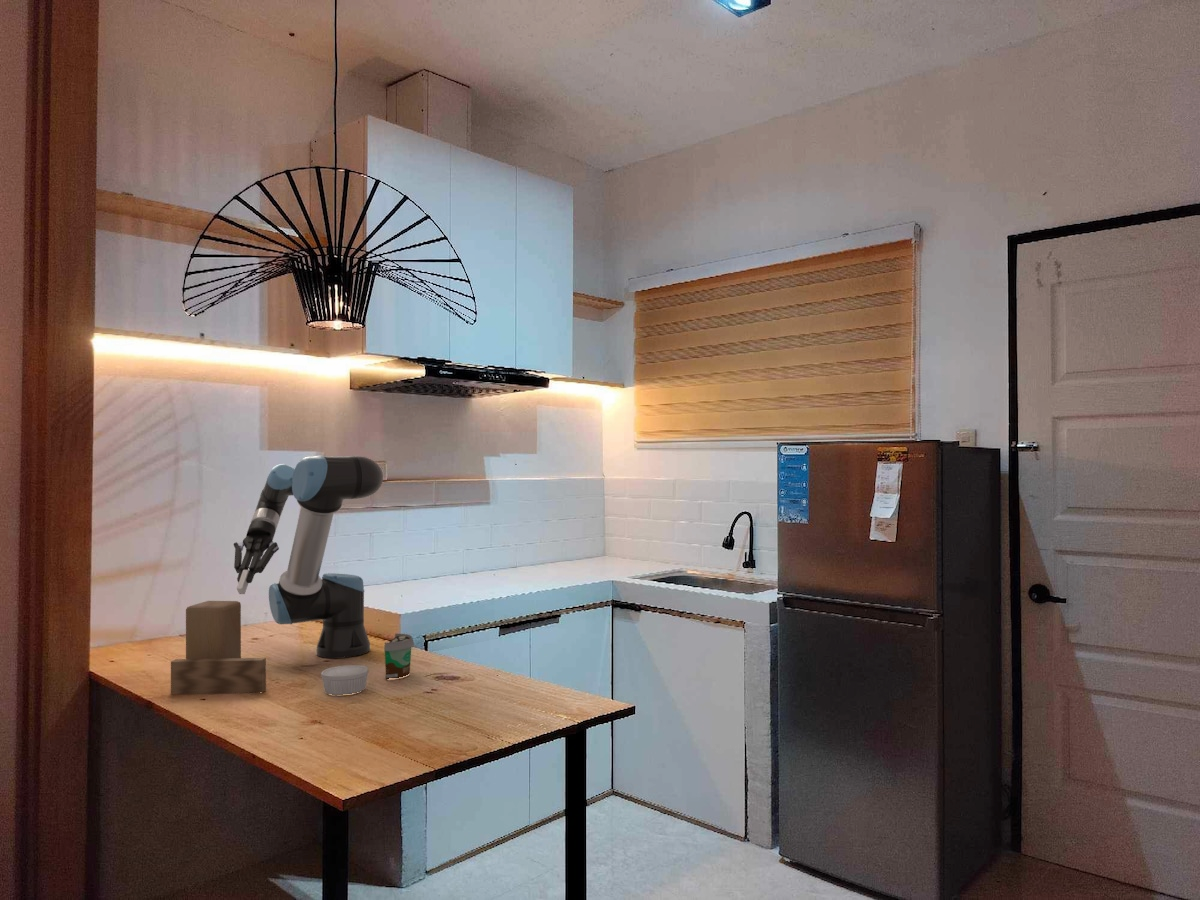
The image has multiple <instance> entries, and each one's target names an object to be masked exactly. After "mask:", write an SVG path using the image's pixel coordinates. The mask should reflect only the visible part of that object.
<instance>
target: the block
mask: <svg viewBox="0 0 1200 900" xmlns="http://www.w3.org/2000/svg"><path fill="white" fill-rule="evenodd" d="M241 605H242V604H241V602H240V601H238V600H206V601H203V602H199V603H196V604H193V605H192V604H191V605H190V606H187V607H186V609H185V659H226V658H242V636H241V635H242V619H241V618H242V615H241V614H242V612H241V611H242V606H241Z"/></svg>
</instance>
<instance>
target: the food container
mask: <svg viewBox="0 0 1200 900" xmlns="http://www.w3.org/2000/svg"><path fill="white" fill-rule="evenodd" d="M412 637H413V636H412V635H411V634H408V633H395V634H394V638H393V639H392V638H391V639H390V640H389V642H384V647H383V648H384V649H383V650H384V663H385V664H384V666H385V680H386V679H389V678H399V677H403V676H406V675H408V674H409V673H410V672H411V662H412V661H411V658H412V648H413V646H414V645H415V642H414V639H413V638H412Z"/></svg>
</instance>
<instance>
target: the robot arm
mask: <svg viewBox="0 0 1200 900" xmlns="http://www.w3.org/2000/svg"><path fill="white" fill-rule="evenodd" d="M383 482H384V474H383V470H382V468H381V467H380V465H379V464H378V463H377V461H374V460H373V459H371V458H368V457H365V456H362V455H361V456H359V455H347V456H346V455H339V456H338V455H336V456H335V455H333V456H331V455H330V456H329V455H326V456H324V455H319V454H318V455H315V456H306V457H303V458H301V459H300V460H299V461H298V462H297V464H296V466H295V467H293V466H292V465H287V464H286V463H280V464H279V463H278V464H277V465H275V466H273V467H272V469H271V470H270V471H269V473H268V475H267V478H266V481H265V485H264V486H263V489H262V491H261V493H260V495H259V500H258V502H257V505H256V509H255V510H254V513H253V515H252V518H251V520H250V524H249V526H248V529H247V531H246V536H245V537H244V538H243V540H242V541H241V542H239V543H238V542H237V541H236V542H234V543H233V547H234V562H233V563H234V564H233V565H234V566H233V567H234V570H235V571H236V574H238V575H237V578H236V580H237V583H238V584H237V586H236V590H237V592H238V594H239V595H245V594H246V590H247V589H248V585H249V584H251V583H252V582H253V579H254V576H255V575H256V574H257V573H258V574H261V573H263V572H264V570H265V568H266V567H267V565H268V564H269V562H270V561H271V559H272V558H273V556H274V554H276V553H277V552H278V551H279V550H280V547H279V545H278V543H277V542H274V541H273V540H274V538H275V534H276V532H277V531H276V530H277V528H278V524H279V521H280V520H281V519H280V518H281V516H282V513H283V510H284V508H285V505H286V503H287V501H288V498H289V496H290V497H291V496H293V497H294V499H295V500H296V502H297V504H298V505H299V506H300V511H299V515H298V518H297V525H296V529H295V533H294V538H293V541H292V542H293V543H292V546H291V552H290V557H289V561H288V565H287V569H286V570H285V571H284V572H282V573H281V575H280V576H279V580H278V583H276V582H274V583H272V584H271V585H269V587H268V602H269V607H270V608H269V609H270V613H271V615H272V618H273V620H274V622H275V623H277V624H278V625H293V624H299V623H307V622H308V623H309V622H314V621H322V629H321V632H320V635H319V638H318V642H317V644H316V656H318V657H320V658H329V659H343V658H342V657H345V658H352V657H351V656H353V657H357V656H356V655H359V656H362V655H361V654H363V655H365V654H364V653H366V654H368V653H369V652H370V651H371V643H370V639H369V636H368V633H367V631H366V628H365V619H364V618H365V617H364V615H365V613H364V612H365V589H364V579H363V578H362V577H361V576H359V575H355V574H347V573H335V572H334V573H332V572H330V573H323V574H322V577H321V576H320V572H321V568H322V564H323V560H324V556H325V550H326V547H327V542H328V539H329V533H330V530H331V526H332V523H333V517H334V513H337V512H338V511H340V510H341V508H342V505H343V501H344V500H354V499H355V500H356V499H363V498H367V497H370V496H372V495H374V494H376V493H377V492H378V491H379V490H380V488H381V487H382V484H383ZM244 548H245V554H244V556H243V552H242V551H243V550H244ZM242 556H243V557H242ZM368 651H369V652H368ZM367 652H368V653H367Z"/></svg>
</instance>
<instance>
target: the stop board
mask: <svg viewBox="0 0 1200 900" xmlns="http://www.w3.org/2000/svg"><path fill="white" fill-rule="evenodd" d="M265 690H267V657H244V658H243V657H241V658H226V659H186V658H177V659H174V660H172V661H170V695H171V694H178V695H218V694H219V695H220V694H221V695H222V694H223V695H224V694H225V695H226V694H227V695H228V694H229V695H230V694H231V695H232V694H237V695H238V693H239V694H261V693H260V692H263V691H264V692H266V691H265ZM264 692H263V693H264Z"/></svg>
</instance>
